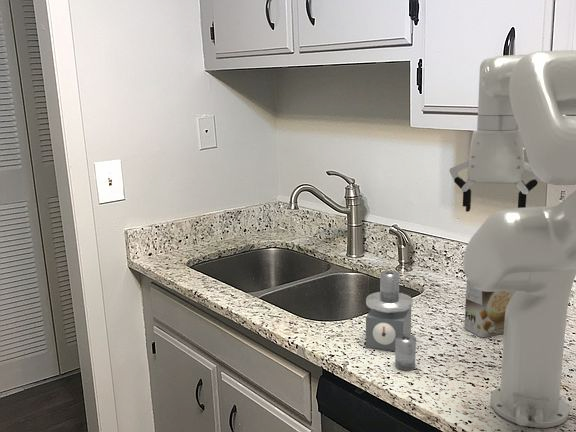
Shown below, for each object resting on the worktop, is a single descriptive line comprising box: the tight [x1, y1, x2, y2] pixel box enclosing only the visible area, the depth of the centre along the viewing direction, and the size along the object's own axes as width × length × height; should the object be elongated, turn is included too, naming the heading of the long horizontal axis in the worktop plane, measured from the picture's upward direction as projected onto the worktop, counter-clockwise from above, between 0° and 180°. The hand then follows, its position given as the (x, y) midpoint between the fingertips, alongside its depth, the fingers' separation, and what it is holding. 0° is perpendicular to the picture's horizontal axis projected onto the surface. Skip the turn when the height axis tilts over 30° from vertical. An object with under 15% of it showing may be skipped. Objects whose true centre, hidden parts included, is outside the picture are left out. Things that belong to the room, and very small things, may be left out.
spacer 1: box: [379, 269, 400, 303], centre depth 130 cm, size 4×4×6 cm
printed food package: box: [463, 279, 516, 339], centre depth 135 cm, size 9×6×16 cm
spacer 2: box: [394, 334, 417, 372], centre depth 120 cm, size 4×4×6 cm
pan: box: [365, 291, 414, 313], centre depth 131 cm, size 10×10×2 cm
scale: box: [365, 308, 412, 352], centre depth 131 cm, size 11×8×7 cm
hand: (493, 211), depth 118 cm, fingers open, 9 cm apart
